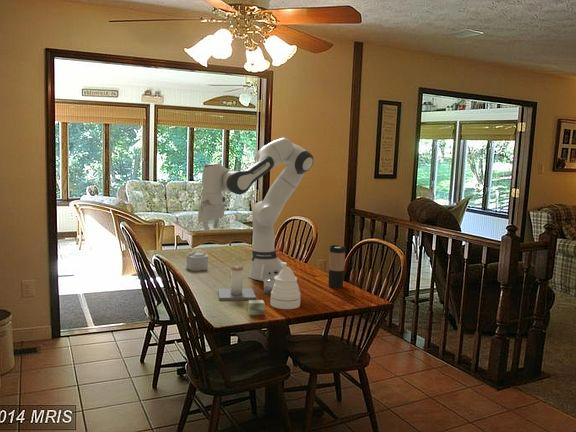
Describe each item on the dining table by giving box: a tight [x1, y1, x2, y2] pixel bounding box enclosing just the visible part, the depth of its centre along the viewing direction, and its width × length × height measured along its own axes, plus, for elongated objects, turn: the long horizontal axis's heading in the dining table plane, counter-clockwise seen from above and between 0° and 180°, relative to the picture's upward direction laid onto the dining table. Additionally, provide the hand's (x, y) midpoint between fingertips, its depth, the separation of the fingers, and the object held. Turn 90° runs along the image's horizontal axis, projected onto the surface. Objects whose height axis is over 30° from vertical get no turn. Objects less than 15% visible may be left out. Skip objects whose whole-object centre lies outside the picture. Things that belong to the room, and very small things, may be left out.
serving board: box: [217, 287, 257, 301], centre depth 230 cm, size 16×14×1 cm
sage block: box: [247, 299, 265, 316], centre depth 206 cm, size 6×4×5 cm, turn 101°
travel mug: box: [327, 244, 346, 289], centre depth 250 cm, size 8×8×20 cm
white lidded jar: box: [230, 264, 244, 295], centre depth 229 cm, size 5×5×12 cm
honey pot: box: [270, 261, 302, 310], centre depth 219 cm, size 13×13×18 cm
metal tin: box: [263, 278, 276, 295], centre depth 236 cm, size 6×6×6 cm
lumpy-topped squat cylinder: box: [186, 250, 209, 272], centre depth 278 cm, size 10×13×9 cm
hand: (211, 229), depth 229 cm, fingers open, 8 cm apart
